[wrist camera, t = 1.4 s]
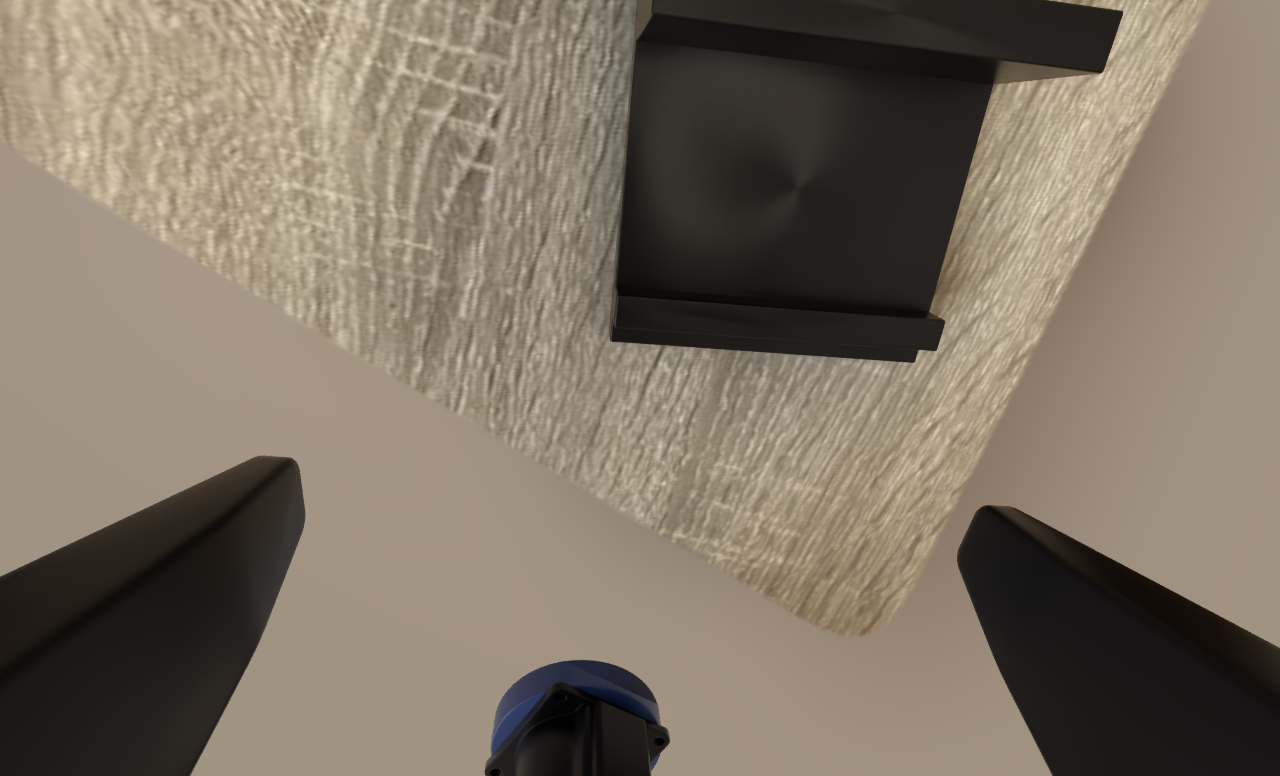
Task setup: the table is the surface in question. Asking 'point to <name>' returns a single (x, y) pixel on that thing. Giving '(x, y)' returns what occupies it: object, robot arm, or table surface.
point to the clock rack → (814, 162)
